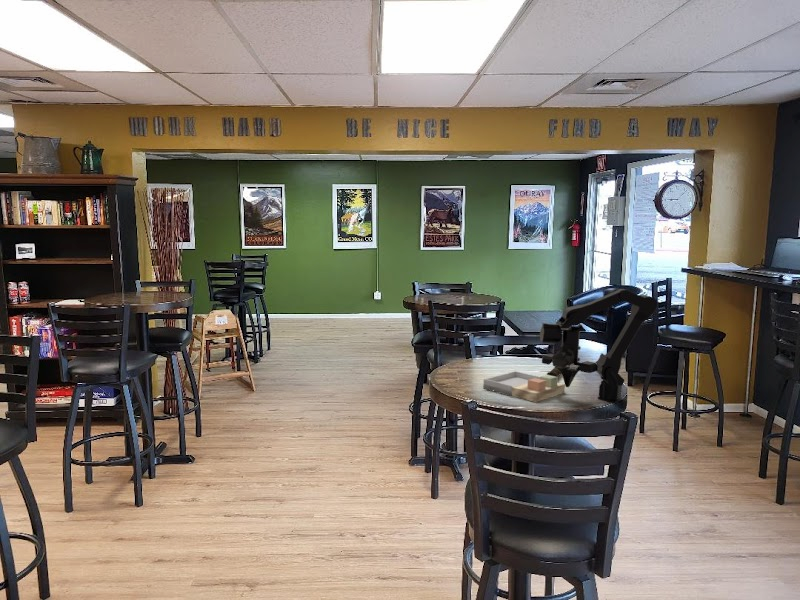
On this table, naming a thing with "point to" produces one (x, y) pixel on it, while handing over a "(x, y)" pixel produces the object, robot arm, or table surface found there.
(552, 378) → the sage block
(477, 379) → the table surface
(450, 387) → the table surface
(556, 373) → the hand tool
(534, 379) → the terracotta block
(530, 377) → the tray
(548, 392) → the birch board
